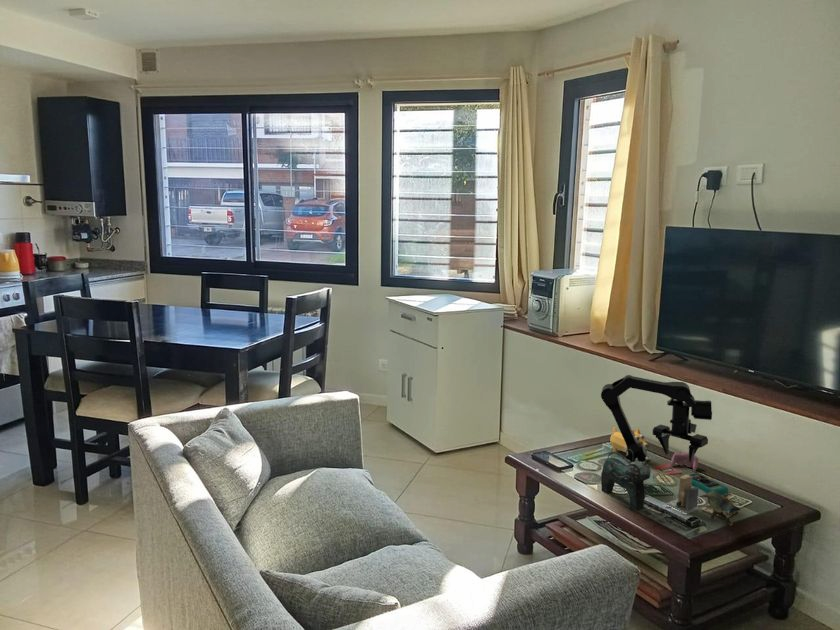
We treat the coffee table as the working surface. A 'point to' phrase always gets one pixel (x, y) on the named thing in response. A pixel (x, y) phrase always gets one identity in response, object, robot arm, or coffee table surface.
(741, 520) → the coffee table surface
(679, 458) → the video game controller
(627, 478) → the green animal figurine
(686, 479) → the light brown wooden block
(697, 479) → the digital multimeter
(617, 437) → the dog
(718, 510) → the bird figurine
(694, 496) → the gauge base
